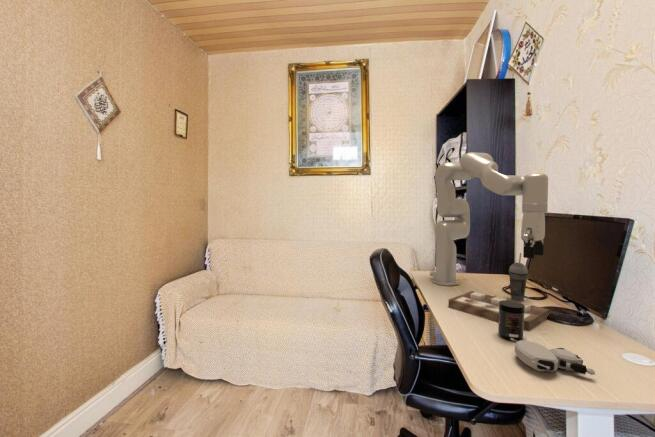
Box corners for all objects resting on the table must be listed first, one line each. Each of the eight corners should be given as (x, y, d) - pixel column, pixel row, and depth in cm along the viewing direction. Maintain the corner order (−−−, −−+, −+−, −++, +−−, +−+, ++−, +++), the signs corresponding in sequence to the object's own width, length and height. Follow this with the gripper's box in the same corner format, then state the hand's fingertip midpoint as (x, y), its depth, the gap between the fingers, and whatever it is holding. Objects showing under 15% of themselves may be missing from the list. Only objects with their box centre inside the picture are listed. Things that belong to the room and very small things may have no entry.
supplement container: (517, 332, 97) (518, 300, 97) (527, 342, 91) (529, 308, 90) (494, 331, 98) (495, 299, 98) (503, 341, 92) (504, 307, 91)
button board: (448, 307, 121) (448, 298, 120) (471, 297, 132) (471, 290, 131) (529, 331, 98) (529, 321, 98) (548, 317, 109) (548, 308, 109)
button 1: (470, 300, 123) (470, 293, 123) (475, 298, 125) (475, 291, 125) (480, 302, 120) (480, 296, 119) (485, 300, 122) (485, 294, 122)
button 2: (513, 311, 110) (514, 304, 110) (518, 309, 113) (518, 302, 112) (526, 314, 107) (526, 307, 107) (530, 312, 109) (531, 305, 109)
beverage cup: (521, 297, 133) (523, 251, 131) (531, 302, 125) (533, 254, 124) (504, 296, 133) (505, 250, 132) (512, 302, 126) (514, 253, 125)
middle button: (490, 305, 116) (491, 299, 116) (495, 303, 119) (495, 296, 119) (501, 308, 113) (502, 301, 113) (506, 306, 116) (506, 299, 116)
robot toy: (566, 359, 83) (506, 351, 85) (568, 343, 83) (508, 335, 85) (598, 387, 71) (527, 376, 73) (600, 368, 71) (529, 358, 73)
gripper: (531, 208, 118) (530, 252, 119) (513, 209, 107) (512, 257, 108) (554, 208, 112) (553, 255, 113) (538, 209, 101) (537, 260, 102)
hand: (533, 256), depth 110 cm, fingers open, 9 cm apart
